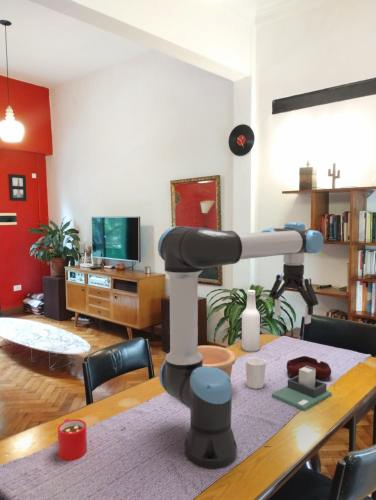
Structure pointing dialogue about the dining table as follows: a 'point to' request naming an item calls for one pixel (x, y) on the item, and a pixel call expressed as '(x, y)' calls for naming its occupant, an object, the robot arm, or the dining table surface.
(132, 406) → the dining table surface
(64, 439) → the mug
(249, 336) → the alcohol
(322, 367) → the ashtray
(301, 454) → the dining table surface
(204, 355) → the pottery
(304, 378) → the plug
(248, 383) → the white cup
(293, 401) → the board
